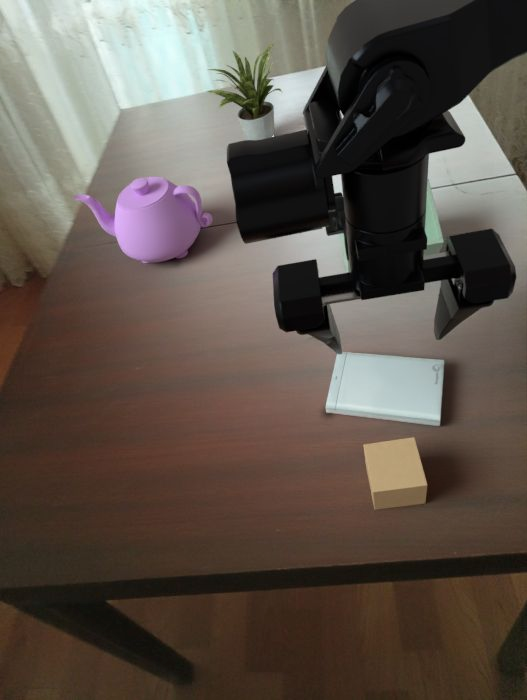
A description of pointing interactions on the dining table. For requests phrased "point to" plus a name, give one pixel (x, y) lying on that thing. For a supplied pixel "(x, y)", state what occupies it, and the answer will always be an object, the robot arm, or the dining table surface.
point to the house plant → (251, 98)
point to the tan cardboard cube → (395, 473)
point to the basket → (431, 229)
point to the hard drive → (387, 388)
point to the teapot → (153, 219)
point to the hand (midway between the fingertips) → (387, 343)
